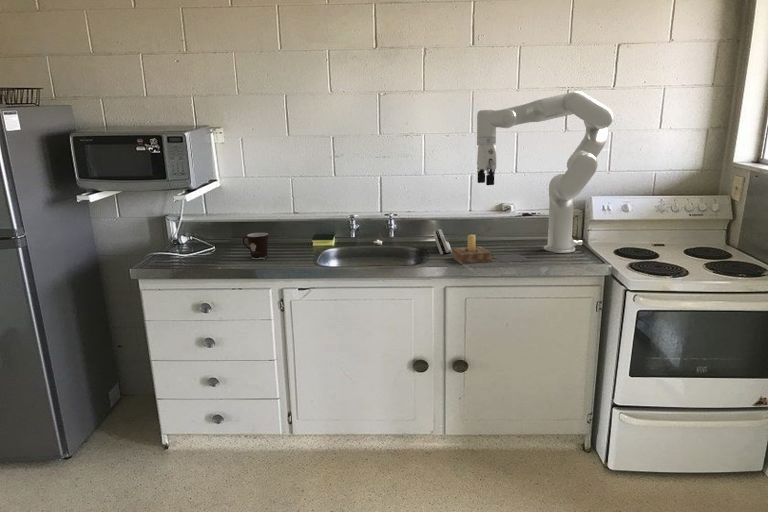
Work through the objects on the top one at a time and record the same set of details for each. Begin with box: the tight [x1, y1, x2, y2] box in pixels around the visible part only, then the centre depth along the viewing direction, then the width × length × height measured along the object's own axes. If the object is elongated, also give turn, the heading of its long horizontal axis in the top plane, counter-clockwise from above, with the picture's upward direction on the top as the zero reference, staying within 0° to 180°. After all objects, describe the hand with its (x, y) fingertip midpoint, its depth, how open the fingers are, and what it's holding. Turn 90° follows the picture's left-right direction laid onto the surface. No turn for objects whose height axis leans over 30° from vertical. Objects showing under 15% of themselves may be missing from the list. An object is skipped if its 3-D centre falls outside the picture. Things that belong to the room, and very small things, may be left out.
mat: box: [492, 253, 529, 263], centre depth 224 cm, size 11×11×1 cm
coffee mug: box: [242, 232, 269, 258], centre depth 236 cm, size 12×9×10 cm
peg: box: [467, 234, 476, 252], centre depth 223 cm, size 3×3×10 cm
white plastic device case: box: [432, 228, 452, 255], centre depth 242 cm, size 17×5×10 cm, turn 177°
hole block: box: [451, 246, 493, 266], centre depth 223 cm, size 12×12×4 cm
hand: (485, 183), depth 233 cm, fingers open, 9 cm apart
